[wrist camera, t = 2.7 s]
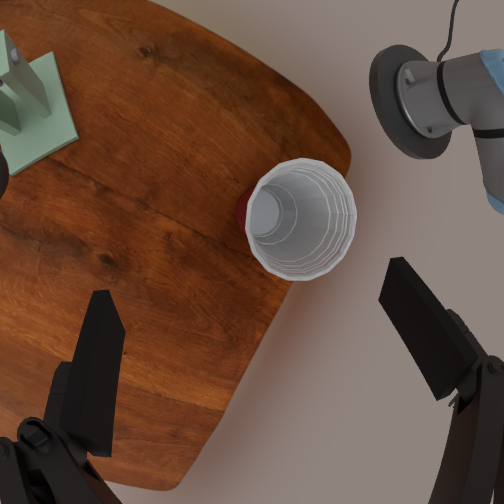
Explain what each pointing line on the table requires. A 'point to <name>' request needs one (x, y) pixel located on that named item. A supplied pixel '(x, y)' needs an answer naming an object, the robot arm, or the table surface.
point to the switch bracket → (31, 108)
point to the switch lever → (3, 169)
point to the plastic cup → (298, 219)
